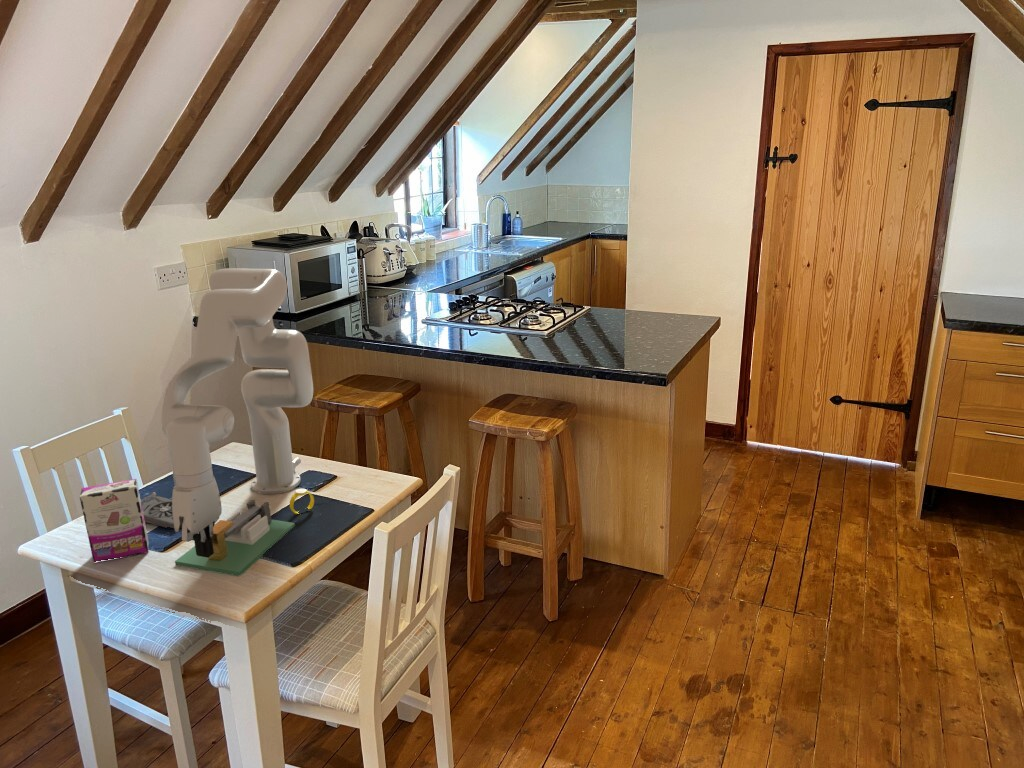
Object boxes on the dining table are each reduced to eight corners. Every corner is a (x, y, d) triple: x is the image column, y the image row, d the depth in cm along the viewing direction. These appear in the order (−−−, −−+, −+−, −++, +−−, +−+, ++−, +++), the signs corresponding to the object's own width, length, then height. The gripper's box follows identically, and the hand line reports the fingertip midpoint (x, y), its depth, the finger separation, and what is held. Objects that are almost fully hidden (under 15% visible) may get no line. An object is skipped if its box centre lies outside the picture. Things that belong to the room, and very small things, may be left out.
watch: (310, 507, 194) (310, 485, 192) (316, 511, 192) (315, 489, 190) (288, 514, 190) (287, 491, 188) (293, 518, 188) (293, 495, 186)
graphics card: (112, 512, 185) (153, 490, 195) (115, 526, 186) (156, 503, 197) (164, 527, 178) (203, 503, 189) (167, 541, 180) (206, 517, 190)
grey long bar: (255, 507, 184) (254, 503, 183) (264, 508, 183) (263, 504, 183) (217, 536, 170) (216, 532, 170) (226, 538, 170) (225, 534, 169)
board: (236, 518, 188) (233, 494, 186) (295, 526, 184) (292, 503, 182) (175, 565, 168) (171, 539, 166) (239, 576, 164) (236, 550, 162)
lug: (224, 545, 174) (220, 519, 172) (235, 547, 173) (232, 521, 171) (208, 558, 169) (204, 532, 167) (220, 560, 168) (216, 534, 166)
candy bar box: (149, 542, 177) (137, 477, 172) (149, 553, 173) (137, 486, 168) (94, 553, 173) (80, 486, 168) (92, 564, 169) (78, 496, 164)
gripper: (201, 459, 167) (212, 535, 173) (152, 489, 153) (166, 570, 159) (231, 463, 165) (241, 540, 171) (184, 494, 151) (197, 576, 157)
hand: (205, 554), depth 165 cm, fingers closed
